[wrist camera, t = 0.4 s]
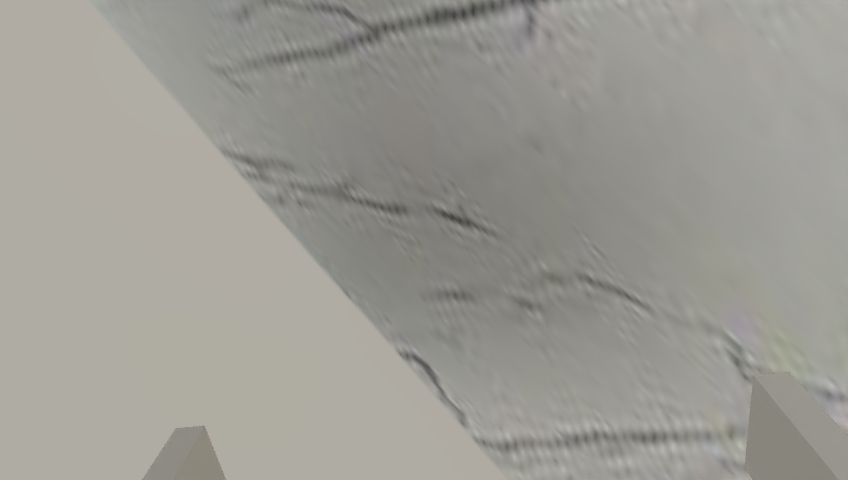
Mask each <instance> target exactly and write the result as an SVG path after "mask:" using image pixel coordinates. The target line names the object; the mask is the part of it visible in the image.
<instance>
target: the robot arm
mask: <svg viewBox="0 0 848 480" xmlns="http://www.w3.org/2000/svg"><path fill="white" fill-rule="evenodd" d="M745 468H746V470H747V471H748V473H749V475H750V476H751V478H752V479H753V480H848V435H847V434H846V433H845V432H844V431H843V430H842V429H841V428H840V426H839V425H838V424H837V423H836V422H835V421H834V420H833V419H832V418H831V417H830V416H829V414H828V413H827V412H826V411H825V410H824V409H823V408H822V407H821V406H820V405H819V404H818V403H817V401H816V400H815V399H814V398H813V397H812V396H811V395H810V394H809V393H808V392H807V391H806V389H805V388H804V387H803V386H802V385H801V384H800V383H799V382H798V381H797V380H796V379H795V378H794V376H793V375H792V374H791V373H790V372H784V373H773V374H762V375H753V386H752V396H751V406H750V417H749V427H748V437H747V447H746V458H745ZM142 480H226V478H225V476H224V474H223V471H222V468H221V466H220V463H219V461H218V459H217V456H216V453H215V451H214V448H213V446H212V443H211V441H210V438H209V436H208V433H207V431H206V428H205V426H196V427H185V428H176V429H175V430H174V432H173V433H172V435H171V437H170V438H169V440H168V441H167V443H166V444H165V446H164V447H163V449H162V450H161V452H160V453H159V455H158V456H157V458H156V459H155V461H154V462H153V464H152V466H151V467H150V469H149V470H148V472H147V473H146V475H145V476H144V478H143V479H142Z"/></svg>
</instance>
